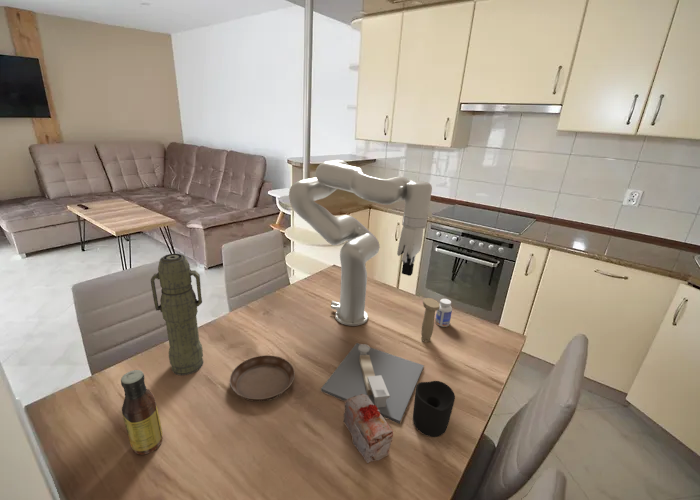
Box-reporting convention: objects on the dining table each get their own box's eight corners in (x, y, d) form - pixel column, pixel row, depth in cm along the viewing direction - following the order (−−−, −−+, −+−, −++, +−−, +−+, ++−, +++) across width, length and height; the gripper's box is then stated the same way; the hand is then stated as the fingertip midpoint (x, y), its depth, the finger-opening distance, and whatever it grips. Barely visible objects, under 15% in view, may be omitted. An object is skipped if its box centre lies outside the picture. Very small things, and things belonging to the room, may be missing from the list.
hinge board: (320, 391, 96) (321, 377, 94) (356, 345, 116) (357, 333, 114) (399, 424, 87) (401, 409, 85) (423, 367, 107) (425, 355, 106)
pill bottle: (450, 321, 133) (454, 299, 130) (448, 328, 129) (452, 306, 125) (436, 318, 135) (440, 296, 132) (433, 324, 131) (437, 302, 127)
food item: (395, 457, 78) (400, 425, 75) (365, 472, 75) (368, 438, 71) (365, 414, 89) (367, 384, 86) (337, 425, 86) (339, 394, 82)
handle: (427, 333, 125) (432, 297, 120) (436, 344, 119) (442, 306, 114) (415, 335, 123) (420, 298, 118) (424, 346, 118) (430, 308, 112)
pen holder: (418, 403, 94) (423, 374, 90) (452, 419, 89) (459, 388, 86) (405, 427, 86) (410, 396, 82) (442, 446, 82) (448, 414, 78)
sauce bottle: (140, 433, 80) (125, 363, 73) (168, 432, 81) (156, 363, 74) (125, 458, 74) (107, 386, 67) (155, 457, 75) (141, 385, 68)
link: (359, 359, 107) (359, 355, 107) (368, 359, 108) (369, 354, 107) (367, 395, 94) (368, 389, 93) (378, 394, 94) (378, 389, 93)
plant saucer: (273, 355, 109) (272, 347, 108) (307, 385, 98) (307, 377, 97) (219, 381, 98) (218, 372, 97) (250, 419, 86) (250, 410, 85)
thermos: (211, 368, 102) (199, 259, 89) (166, 380, 96) (146, 266, 84) (207, 351, 109) (195, 248, 96) (165, 361, 104) (147, 253, 91)
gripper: (411, 214, 116) (404, 264, 122) (394, 224, 103) (387, 278, 110) (433, 218, 112) (424, 269, 119) (417, 229, 100) (409, 285, 107)
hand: (406, 273), depth 115 cm, fingers closed
